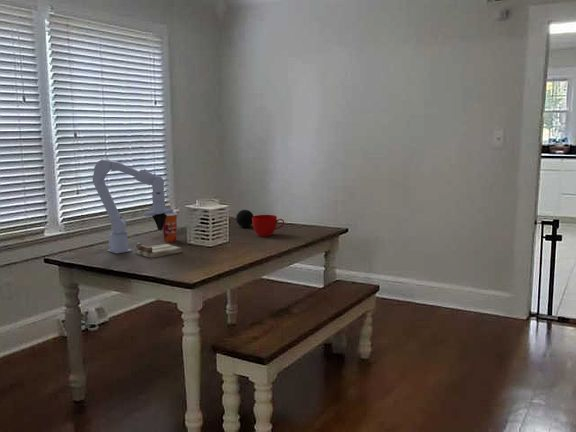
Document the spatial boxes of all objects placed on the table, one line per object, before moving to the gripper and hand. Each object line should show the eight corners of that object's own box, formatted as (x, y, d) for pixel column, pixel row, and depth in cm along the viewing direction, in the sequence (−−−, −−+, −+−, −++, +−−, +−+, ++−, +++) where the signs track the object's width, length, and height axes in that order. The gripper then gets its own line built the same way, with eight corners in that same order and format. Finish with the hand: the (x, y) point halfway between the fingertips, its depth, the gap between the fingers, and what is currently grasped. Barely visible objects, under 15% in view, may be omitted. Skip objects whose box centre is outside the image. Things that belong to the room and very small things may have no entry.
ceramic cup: (282, 238, 308) (281, 219, 307) (250, 237, 311) (249, 218, 309) (286, 233, 321) (286, 214, 319) (255, 232, 324) (254, 214, 322)
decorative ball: (251, 229, 335) (250, 211, 333) (234, 228, 337) (233, 211, 336) (256, 225, 345) (255, 208, 343) (239, 225, 347) (239, 208, 345)
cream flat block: (135, 253, 279) (135, 248, 279) (165, 247, 290) (165, 243, 289) (151, 257, 269) (151, 253, 269) (181, 252, 280) (181, 247, 279)
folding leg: (135, 248, 278) (135, 243, 278) (140, 248, 280) (140, 242, 279) (148, 252, 270) (147, 246, 269) (152, 251, 271) (152, 246, 271)
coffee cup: (167, 243, 301) (165, 213, 298) (159, 240, 307) (157, 211, 305) (181, 240, 306) (180, 211, 304) (173, 238, 312) (172, 209, 310)
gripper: (149, 203, 276) (151, 232, 278) (176, 200, 285) (177, 228, 288) (141, 202, 281) (143, 231, 283) (168, 199, 290) (169, 226, 293)
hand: (160, 229), depth 286 cm, fingers closed
